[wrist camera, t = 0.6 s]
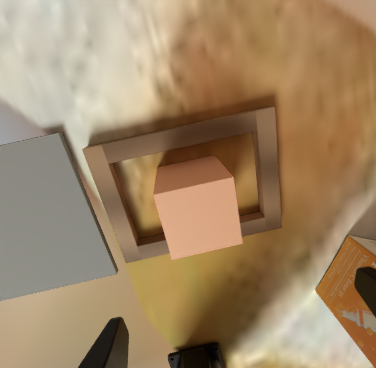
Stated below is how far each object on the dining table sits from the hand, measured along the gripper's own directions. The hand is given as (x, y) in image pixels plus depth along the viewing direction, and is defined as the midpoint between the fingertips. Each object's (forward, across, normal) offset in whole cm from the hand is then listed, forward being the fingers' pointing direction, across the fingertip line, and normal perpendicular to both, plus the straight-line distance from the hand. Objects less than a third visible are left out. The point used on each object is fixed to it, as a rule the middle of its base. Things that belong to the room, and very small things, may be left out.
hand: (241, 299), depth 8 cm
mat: (+12, +16, +1) cm, 20 cm away
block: (+12, +1, 0) cm, 12 cm away
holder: (+12, +1, 0) cm, 12 cm away
